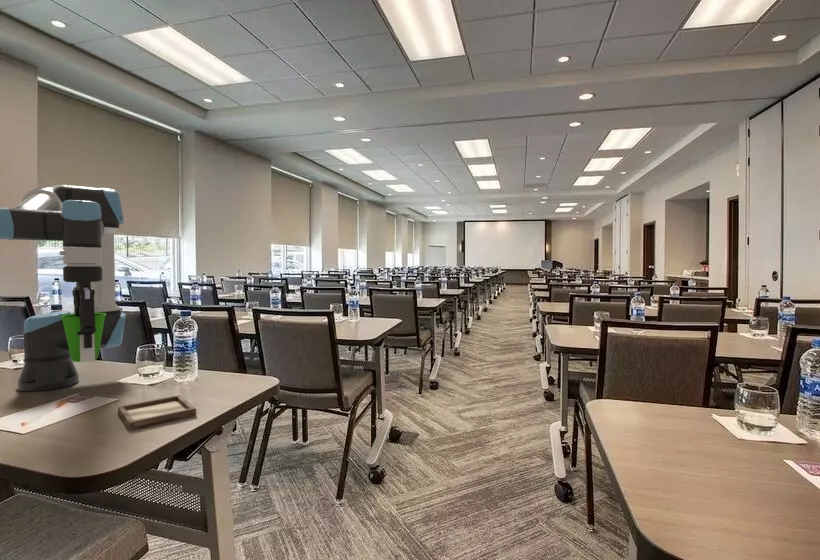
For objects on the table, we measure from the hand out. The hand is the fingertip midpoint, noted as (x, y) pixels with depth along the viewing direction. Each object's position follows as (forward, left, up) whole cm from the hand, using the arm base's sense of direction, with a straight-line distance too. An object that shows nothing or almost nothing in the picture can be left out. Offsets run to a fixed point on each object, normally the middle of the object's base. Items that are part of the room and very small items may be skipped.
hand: (85, 357), depth 104 cm
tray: (+2, +15, -17) cm, 23 cm away
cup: (0, 0, -1) cm, 1 cm away
